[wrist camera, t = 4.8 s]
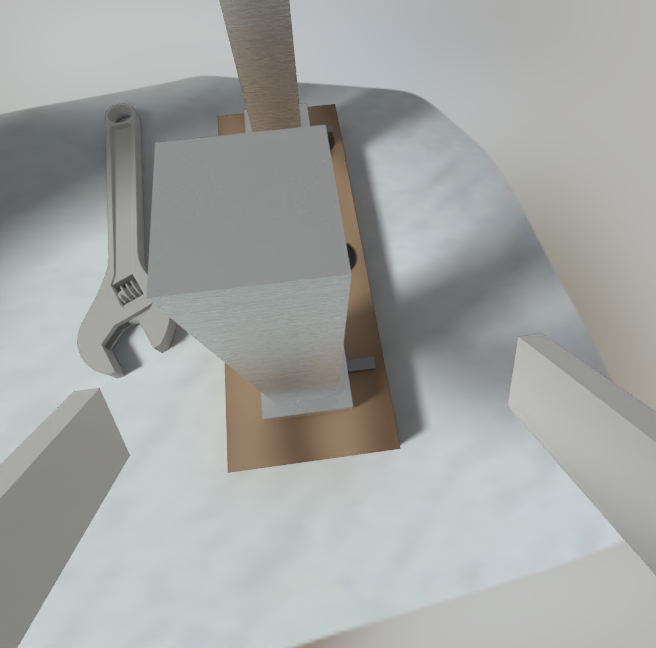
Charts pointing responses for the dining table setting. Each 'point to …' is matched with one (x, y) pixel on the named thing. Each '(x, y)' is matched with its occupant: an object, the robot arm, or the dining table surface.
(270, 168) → the block
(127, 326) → the adjustable wrench
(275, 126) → the fixed leg
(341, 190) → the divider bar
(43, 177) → the dining table surface
